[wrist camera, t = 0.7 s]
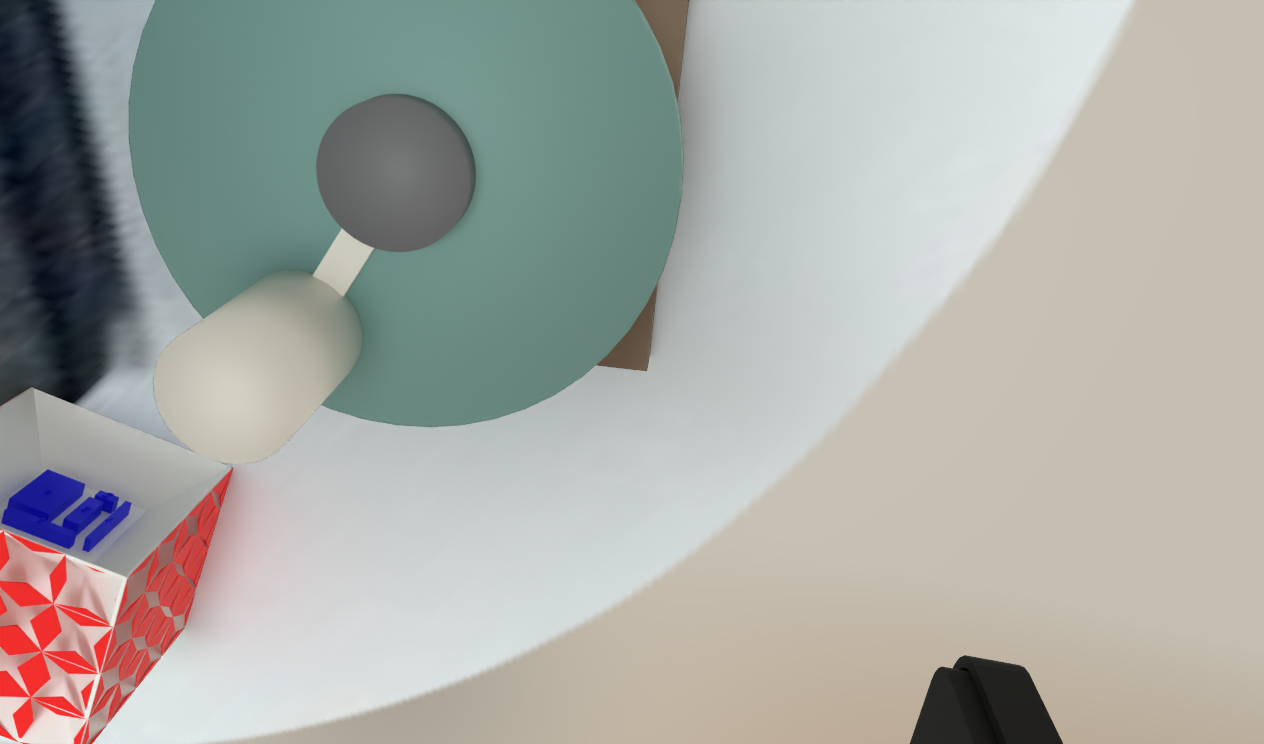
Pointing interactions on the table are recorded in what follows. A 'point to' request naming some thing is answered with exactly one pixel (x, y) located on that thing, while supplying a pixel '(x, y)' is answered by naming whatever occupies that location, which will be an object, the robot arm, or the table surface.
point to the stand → (667, 20)
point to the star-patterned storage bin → (91, 562)
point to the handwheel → (397, 204)
